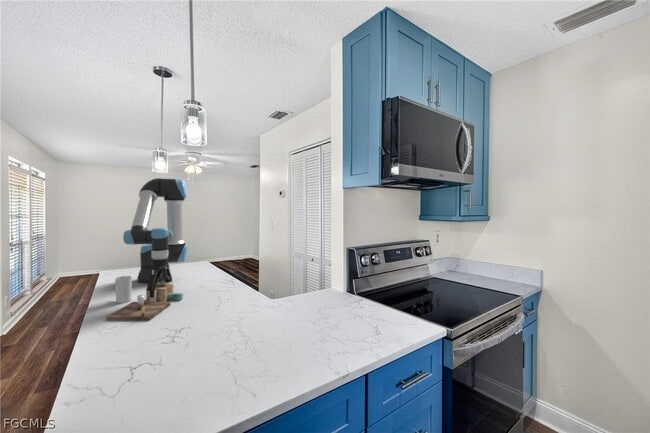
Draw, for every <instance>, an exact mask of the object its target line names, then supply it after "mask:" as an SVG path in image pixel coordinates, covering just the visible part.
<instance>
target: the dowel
mask: <svg viewBox="0 0 650 433" xmlns="http://www.w3.org/2000/svg"><path fill="white" fill-rule="evenodd" d="M144 315H145V307H142V308H141V316H144Z"/></svg>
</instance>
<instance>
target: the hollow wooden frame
mask: <svg viewBox="0 0 650 433" xmlns="http://www.w3.org/2000/svg"><path fill="white" fill-rule="evenodd" d="M155 290H156V302H169V301H183V299H184V294H183V292H182V293H181V292H174V283H170V284H164V283H157V286H156V289H155ZM145 293H146V295H145V296H146V297H145V298H146V301H145V302H150V291H147V288H146V289H145Z"/></svg>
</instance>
